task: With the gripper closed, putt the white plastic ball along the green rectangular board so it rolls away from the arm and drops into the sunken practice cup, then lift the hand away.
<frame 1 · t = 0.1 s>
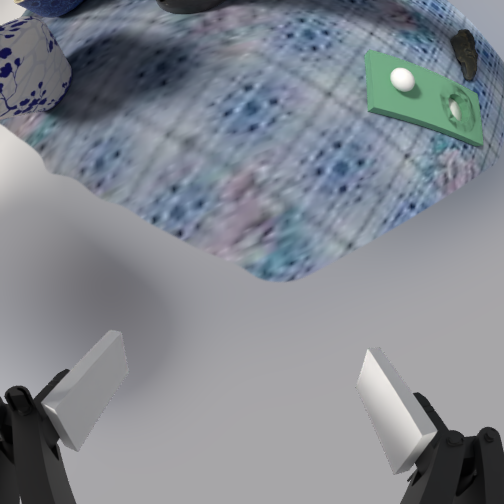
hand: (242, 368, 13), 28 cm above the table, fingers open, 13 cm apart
ball: (402, 79, 30), point 4 cm above the table, touching green rectangular board
green rectangular board: (427, 100, 34), on the table
vase: (53, 86, 34), on the table
stone: (461, 57, 31), on the table
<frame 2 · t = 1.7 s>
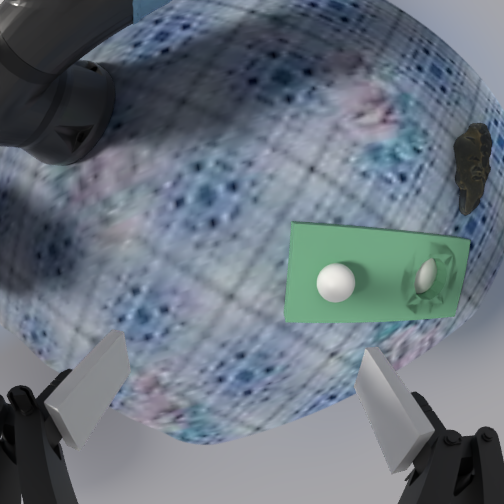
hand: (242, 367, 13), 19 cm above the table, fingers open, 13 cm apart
ball: (335, 282, 27), point 4 cm above the table, touching green rectangular board
green rectangular board: (385, 273, 31), on the table
stone: (464, 169, 28), on the table
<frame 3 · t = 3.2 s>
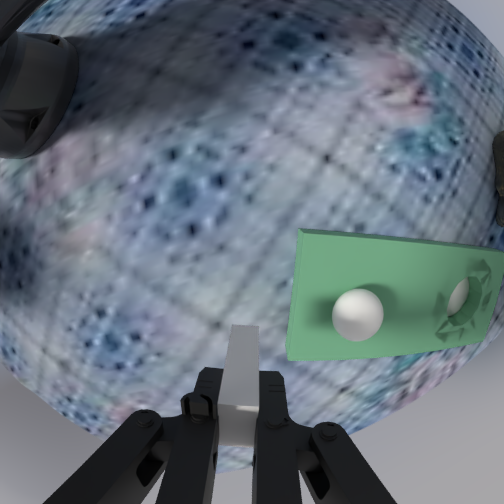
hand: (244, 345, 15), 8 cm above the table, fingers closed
ball: (357, 315, 19), point 4 cm above the table, touching green rectangular board
green rectangular board: (412, 294, 23), on the table
stone: (501, 171, 20), on the table
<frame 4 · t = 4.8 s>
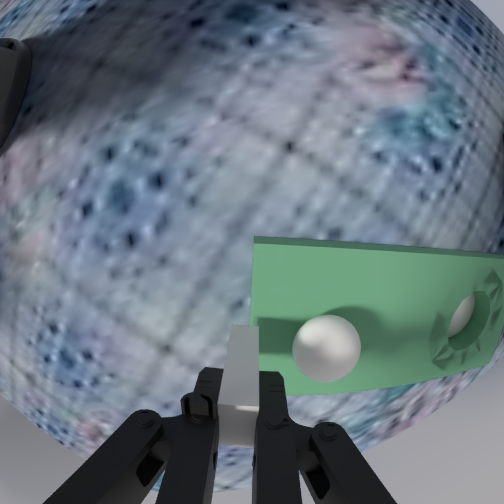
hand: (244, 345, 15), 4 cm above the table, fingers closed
ball: (326, 348, 15), point 4 cm above the table, touching green rectangular board
green rectangular board: (405, 314, 19), on the table
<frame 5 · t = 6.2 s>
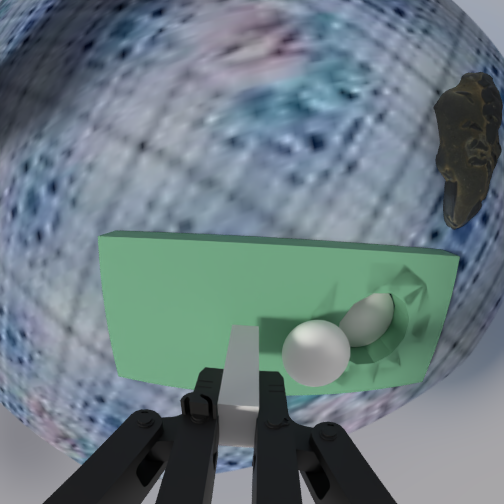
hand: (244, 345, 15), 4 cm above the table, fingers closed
ball: (316, 353, 15), point 4 cm above the table, tilted 92°, touching green rectangular board
green rectangular board: (285, 315, 19), on the table
stone: (455, 149, 16), on the table
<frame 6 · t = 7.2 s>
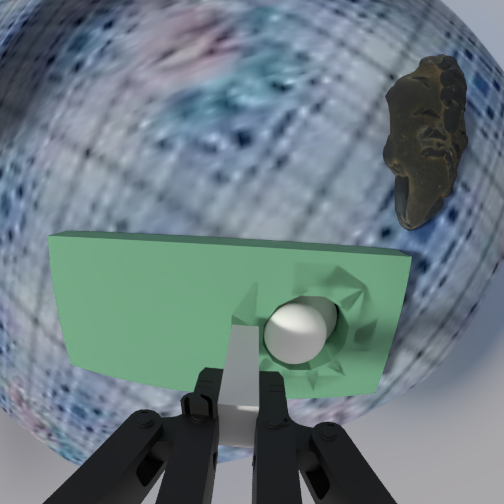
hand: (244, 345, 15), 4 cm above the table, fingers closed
ball: (295, 333, 17), point 2 cm above the table, tilted 35°, touching green rectangular board
green rectangular board: (216, 314, 19), on the table
stone: (415, 142, 16), on the table
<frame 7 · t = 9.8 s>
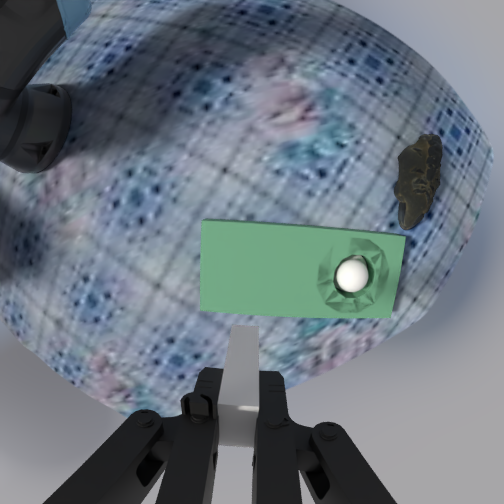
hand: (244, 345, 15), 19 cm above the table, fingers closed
ball: (352, 275, 31), point 2 cm above the table, tilted 48°, touching green rectangular board
green rectangular board: (304, 269, 34), on the table
stone: (411, 182, 31), on the table
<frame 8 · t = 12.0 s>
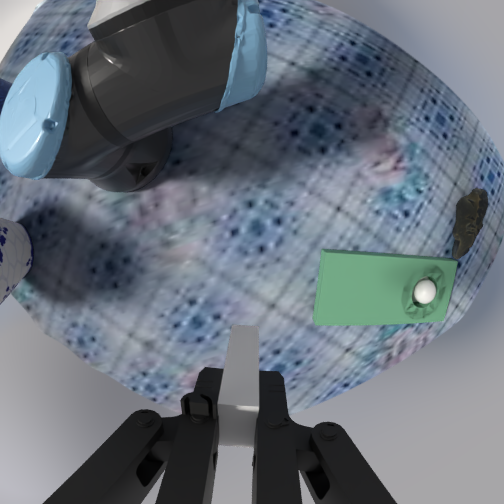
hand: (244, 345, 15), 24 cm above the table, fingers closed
planter: (14, 123, 34), on the table
ball: (425, 291, 37), point 2 cm above the table, tilted 58°, touching green rectangular board
green rectangular board: (389, 287, 40), on the table
vase: (19, 248, 40), on the table
stone: (461, 222, 38), on the table
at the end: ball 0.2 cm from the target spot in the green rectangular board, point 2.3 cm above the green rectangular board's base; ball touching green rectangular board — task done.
